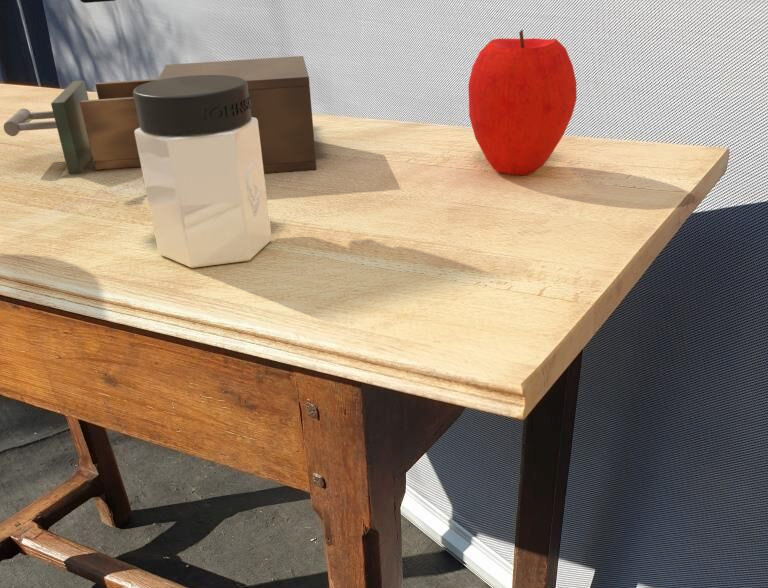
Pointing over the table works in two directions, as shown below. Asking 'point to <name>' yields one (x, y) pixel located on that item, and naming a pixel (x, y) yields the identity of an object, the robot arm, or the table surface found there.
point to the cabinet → (270, 106)
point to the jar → (202, 169)
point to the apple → (521, 101)
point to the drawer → (90, 125)
